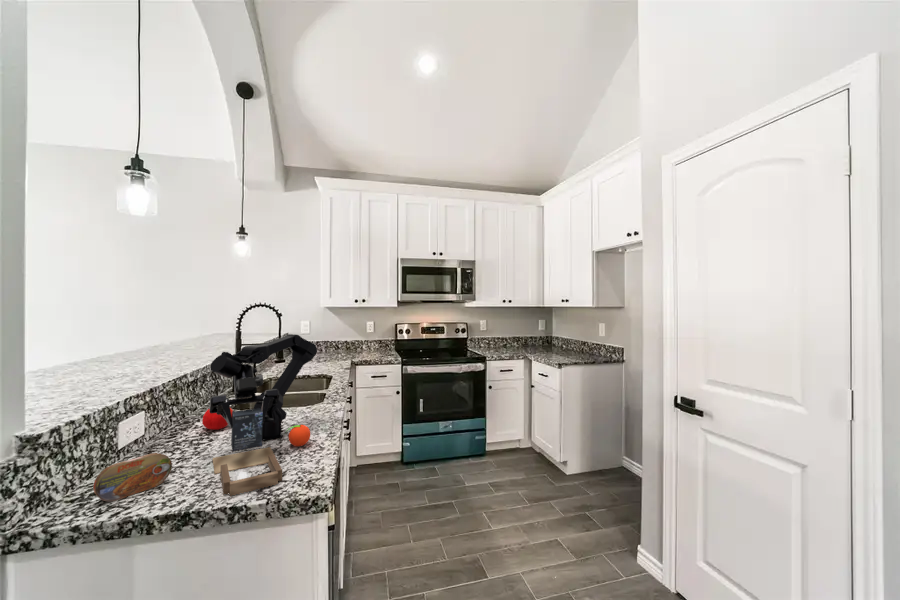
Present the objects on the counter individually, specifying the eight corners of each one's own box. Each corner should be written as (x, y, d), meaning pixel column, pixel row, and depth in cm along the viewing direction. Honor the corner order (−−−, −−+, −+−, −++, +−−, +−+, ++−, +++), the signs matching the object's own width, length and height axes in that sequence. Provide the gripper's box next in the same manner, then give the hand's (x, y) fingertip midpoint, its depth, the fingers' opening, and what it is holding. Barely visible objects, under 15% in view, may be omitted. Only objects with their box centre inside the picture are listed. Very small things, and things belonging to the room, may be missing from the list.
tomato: (197, 429, 135) (197, 407, 135) (225, 422, 144) (226, 401, 144) (209, 434, 130) (210, 411, 130) (238, 426, 139) (239, 405, 139)
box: (232, 452, 104) (232, 415, 105) (230, 446, 109) (231, 411, 109) (262, 446, 109) (263, 411, 109) (260, 440, 114) (260, 407, 114)
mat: (270, 447, 120) (270, 447, 120) (277, 461, 110) (277, 460, 110) (212, 459, 110) (212, 458, 110) (214, 474, 100) (214, 473, 100)
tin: (95, 508, 83) (96, 471, 83) (90, 503, 85) (92, 467, 85) (172, 481, 96) (173, 450, 96) (167, 478, 98) (168, 447, 98)
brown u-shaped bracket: (273, 464, 107) (274, 454, 107) (283, 483, 96) (283, 471, 97) (220, 476, 100) (220, 465, 100) (223, 497, 89) (224, 485, 89)
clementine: (284, 451, 117) (284, 429, 117) (285, 443, 124) (285, 422, 124) (310, 448, 120) (311, 426, 120) (310, 440, 126) (310, 420, 127)
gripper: (211, 369, 107) (212, 416, 98) (279, 364, 118) (285, 406, 109) (209, 390, 113) (209, 436, 104) (274, 383, 124) (279, 424, 115)
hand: (247, 425), depth 108 cm, fingers closed on box, 8 cm apart
